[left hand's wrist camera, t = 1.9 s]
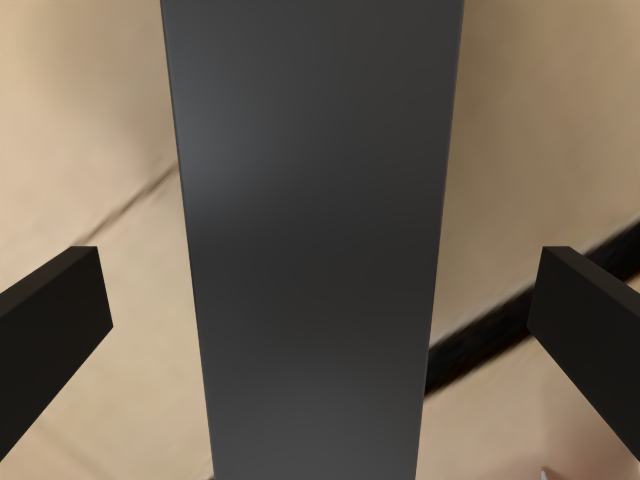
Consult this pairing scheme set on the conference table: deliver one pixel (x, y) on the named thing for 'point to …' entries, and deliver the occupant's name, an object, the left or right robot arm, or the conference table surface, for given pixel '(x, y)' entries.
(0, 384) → the left robot arm
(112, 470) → the conference table surface
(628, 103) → the conference table surface
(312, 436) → the bar
